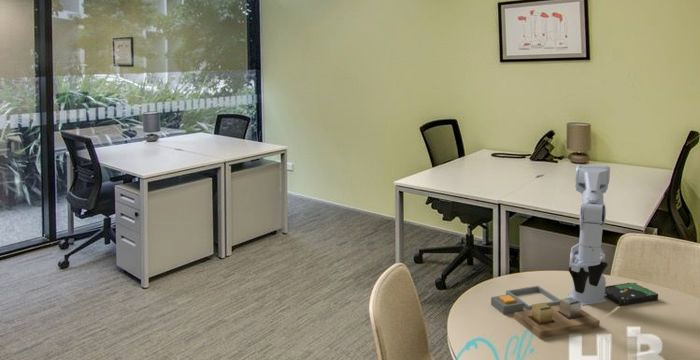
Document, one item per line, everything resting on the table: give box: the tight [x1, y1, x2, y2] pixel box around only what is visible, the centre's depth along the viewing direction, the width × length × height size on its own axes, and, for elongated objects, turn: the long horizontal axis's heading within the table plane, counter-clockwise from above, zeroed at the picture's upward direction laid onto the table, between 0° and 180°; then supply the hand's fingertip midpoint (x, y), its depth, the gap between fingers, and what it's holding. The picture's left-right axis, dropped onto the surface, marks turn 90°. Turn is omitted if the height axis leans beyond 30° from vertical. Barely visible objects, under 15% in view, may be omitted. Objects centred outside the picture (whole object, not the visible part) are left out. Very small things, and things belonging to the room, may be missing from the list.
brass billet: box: [531, 302, 553, 325], centre depth 147 cm, size 4×4×6 cm
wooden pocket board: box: [513, 305, 601, 340], centre depth 149 cm, size 20×12×2 cm, turn 106°
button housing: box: [490, 294, 524, 315], centre depth 159 cm, size 7×7×3 cm
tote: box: [505, 285, 561, 311], centre depth 164 cm, size 12×12×2 cm
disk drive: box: [604, 282, 659, 308], centre depth 165 cm, size 10×3×15 cm
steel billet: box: [559, 297, 582, 320], centre depth 150 cm, size 4×4×6 cm
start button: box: [499, 294, 516, 304], centre depth 159 cm, size 4×4×3 cm
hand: (586, 288), depth 148 cm, fingers open, 7 cm apart
